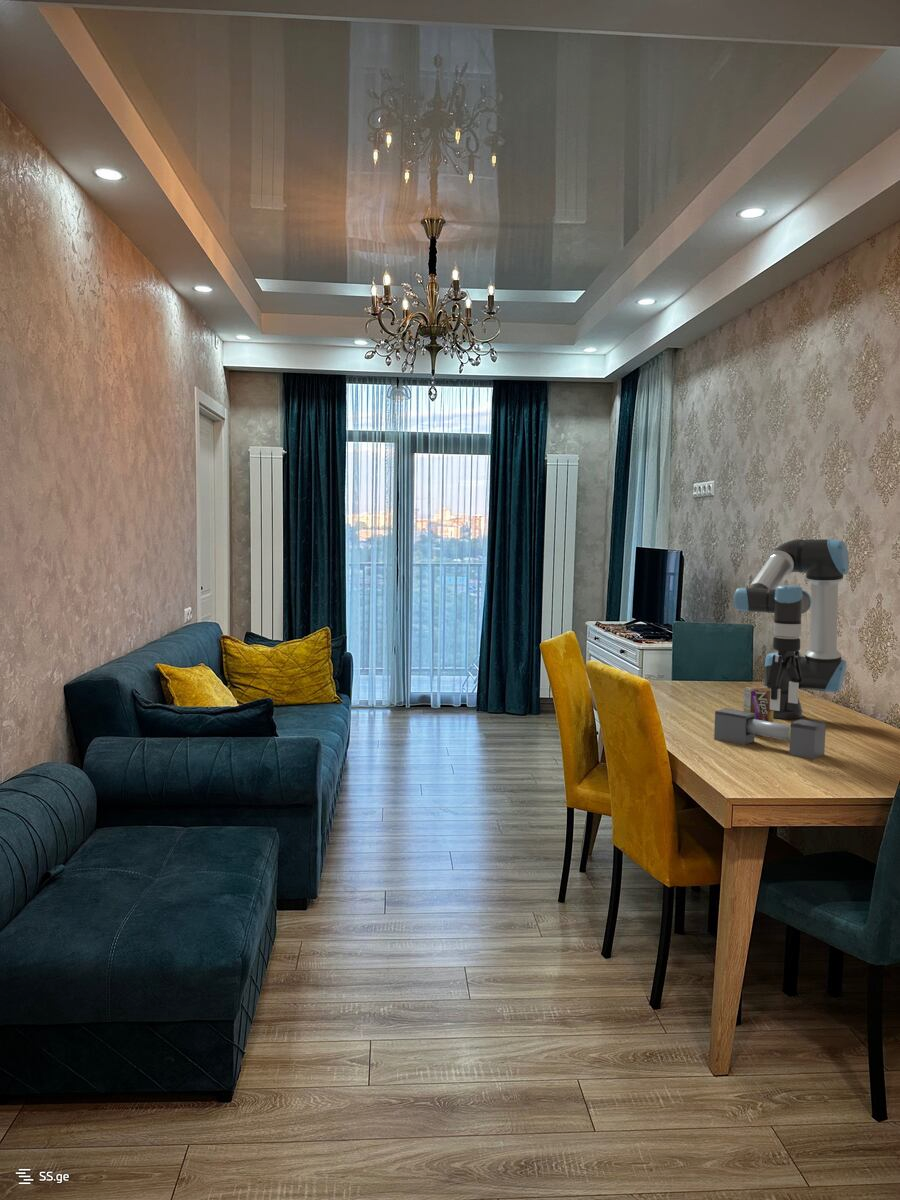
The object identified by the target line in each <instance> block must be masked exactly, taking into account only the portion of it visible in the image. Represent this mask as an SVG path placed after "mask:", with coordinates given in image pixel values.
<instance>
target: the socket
mask: <svg viewBox="0 0 900 1200" xmlns="http://www.w3.org/2000/svg"><path fill="white" fill-rule="evenodd" d="M790 725H791V729H790V741H789V750H788V751H789V752H788V753H789V754H788V755H790V756H795V757H801V758H805V759H810V760H815V759H817V758H819V757H821V756H824V755H825V749H826V748H825V747H826V727H827V722H823V721H817V720H811V719H805V718H799V719H797V720H794V721H792V722H790Z"/></svg>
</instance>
